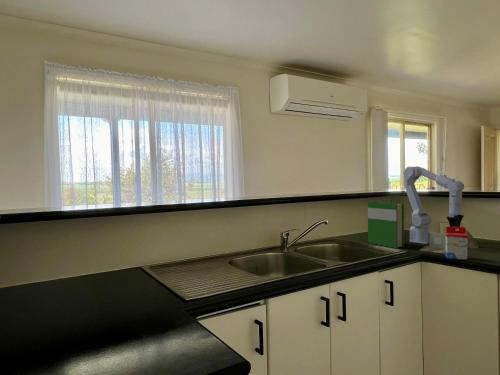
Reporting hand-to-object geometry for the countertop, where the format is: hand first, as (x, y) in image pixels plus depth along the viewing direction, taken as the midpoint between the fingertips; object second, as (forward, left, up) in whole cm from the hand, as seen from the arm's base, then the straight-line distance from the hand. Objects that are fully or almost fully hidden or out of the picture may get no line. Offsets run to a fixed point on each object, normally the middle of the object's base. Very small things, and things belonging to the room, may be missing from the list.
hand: (455, 229), depth 189 cm
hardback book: (-30, -17, -10) cm, 36 cm away
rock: (+4, +4, -10) cm, 12 cm away
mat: (-6, -13, -10) cm, 17 cm away
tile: (-6, -9, -10) cm, 14 cm away
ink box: (+7, -24, -10) cm, 27 cm away
